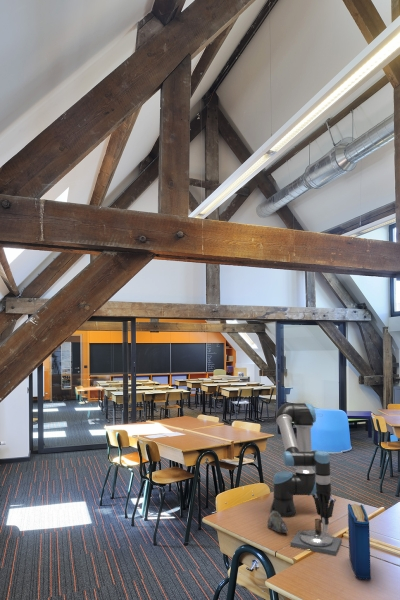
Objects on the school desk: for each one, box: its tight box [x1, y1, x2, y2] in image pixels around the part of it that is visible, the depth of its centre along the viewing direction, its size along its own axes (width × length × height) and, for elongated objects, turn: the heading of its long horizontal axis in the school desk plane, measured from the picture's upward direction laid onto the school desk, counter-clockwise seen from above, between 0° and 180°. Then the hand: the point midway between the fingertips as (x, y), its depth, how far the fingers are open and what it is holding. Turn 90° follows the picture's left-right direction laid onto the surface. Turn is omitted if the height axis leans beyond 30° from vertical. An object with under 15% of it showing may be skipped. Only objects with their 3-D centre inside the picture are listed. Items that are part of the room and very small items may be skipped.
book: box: [347, 503, 372, 580], centre depth 198 cm, size 22×7×25 cm, turn 168°
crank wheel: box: [300, 518, 334, 547], centre depth 223 cm, size 16×16×8 cm
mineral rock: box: [266, 511, 289, 534], centre depth 239 cm, size 13×11×10 cm
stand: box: [290, 530, 343, 557], centre depth 222 cm, size 17×22×2 cm
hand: (325, 530), depth 226 cm, fingers closed
